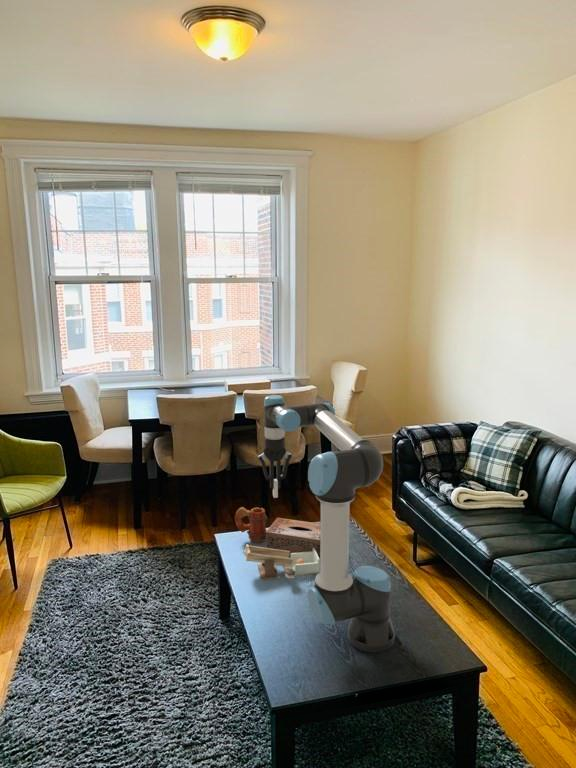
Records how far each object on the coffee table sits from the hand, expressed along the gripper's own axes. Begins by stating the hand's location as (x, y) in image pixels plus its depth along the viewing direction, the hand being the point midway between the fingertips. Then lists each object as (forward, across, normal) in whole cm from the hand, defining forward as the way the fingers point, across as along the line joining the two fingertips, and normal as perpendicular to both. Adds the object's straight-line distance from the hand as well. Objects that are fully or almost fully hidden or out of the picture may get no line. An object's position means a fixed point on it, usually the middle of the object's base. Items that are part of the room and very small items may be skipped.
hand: (275, 496), depth 213 cm
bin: (+32, -12, -2) cm, 34 cm away
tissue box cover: (+33, -13, -17) cm, 39 cm away
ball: (+30, -10, -2) cm, 32 cm away
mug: (+33, +6, -30) cm, 45 cm away
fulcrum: (+32, +3, -2) cm, 33 cm away
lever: (+27, +3, +2) cm, 27 cm away
